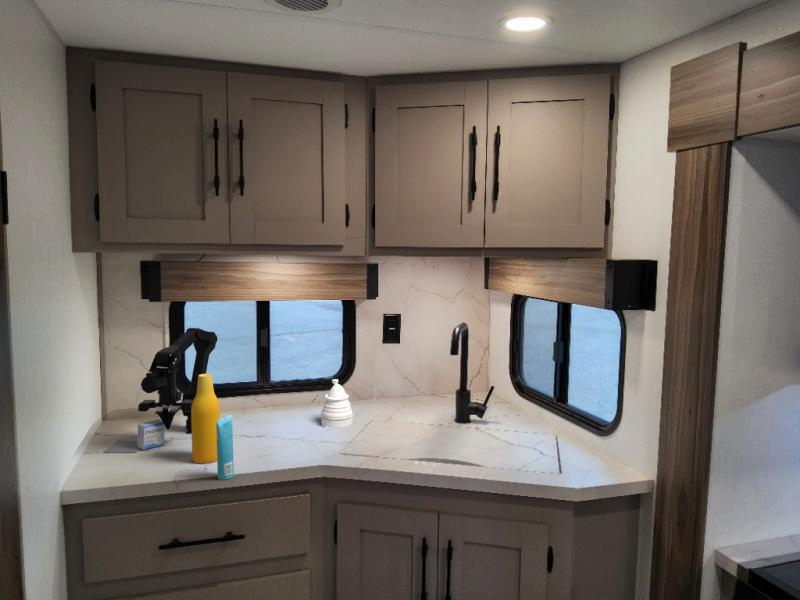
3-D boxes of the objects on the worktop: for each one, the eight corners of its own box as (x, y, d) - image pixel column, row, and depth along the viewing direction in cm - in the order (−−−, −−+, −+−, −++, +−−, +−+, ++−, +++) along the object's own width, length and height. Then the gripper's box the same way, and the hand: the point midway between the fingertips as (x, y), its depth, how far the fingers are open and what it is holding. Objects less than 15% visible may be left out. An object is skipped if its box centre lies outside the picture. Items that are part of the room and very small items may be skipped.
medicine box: (143, 450, 195) (143, 426, 194) (137, 447, 198) (137, 423, 197) (164, 445, 201) (165, 421, 200) (158, 441, 204) (158, 418, 203)
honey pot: (316, 422, 230) (316, 379, 228) (343, 417, 237) (344, 375, 235) (330, 431, 219) (330, 386, 217) (358, 425, 226) (358, 382, 224)
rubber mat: (149, 440, 205) (149, 440, 205) (135, 452, 193) (135, 452, 193) (118, 441, 205) (118, 440, 205) (103, 453, 193) (102, 452, 193)
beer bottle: (223, 453, 194) (221, 371, 191) (218, 463, 185) (216, 378, 182) (195, 454, 193) (193, 372, 190) (189, 464, 184) (187, 378, 181)
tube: (225, 471, 179) (224, 413, 177) (238, 473, 177) (237, 414, 176) (212, 480, 171) (210, 420, 170) (226, 482, 170) (225, 421, 168)
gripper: (200, 380, 206) (201, 421, 208) (149, 380, 205) (150, 421, 207) (191, 388, 195) (192, 431, 197) (136, 388, 194) (138, 431, 196)
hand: (168, 428), depth 199 cm, fingers closed
